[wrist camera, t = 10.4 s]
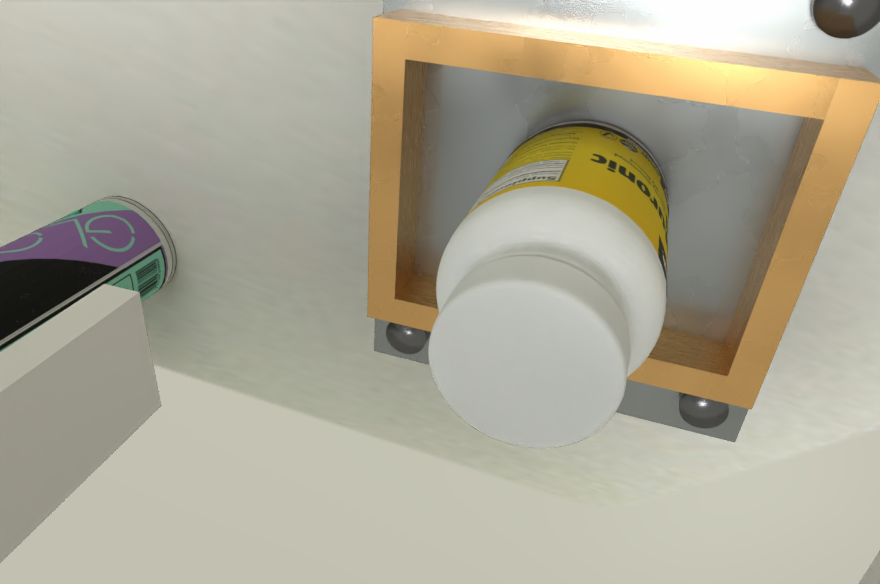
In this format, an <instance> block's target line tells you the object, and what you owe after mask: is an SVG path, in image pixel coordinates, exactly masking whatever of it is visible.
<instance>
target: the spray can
mask: <svg viewBox="0 0 880 584" xmlns="http://www.w3.org/2000/svg"><path fill="white" fill-rule="evenodd" d="M175 267H176V256H175V250H174V247H173V243H172V241H171V239H170V237H169V234H168V233H167V231H166V230H165V228H164V226H163V225H162V224H161V222H160V221H159V220H158V219H157V218H156V217H155V216H154V215H153V214H152V213H151V212H150V211H149V210H148V209H146V208H145V207H143V206H142V205H140V204H139V203H137V202H135V201H132V200H130V199H127V198H123V197H114V196H112V197H107V198H104V199H101V200H98V201H96V202H94V203H92V204H90V205H88V206H86V207H84V208H82V209H80V210H77V211H75V212H73V213H71V214H69V215H67V216H65V217H63V218H61V219H59V220H57V221H55V222H53V223H51V224H48V225H46V226H44V227H42V228H40V229H38V230H36V231H34V232H32V233H30V234H28V235H26V236H24V237H21V238H19V239H17V240H15V241H13V242H11V243H9V244H7V245H5V246H3V247H1V248H0V352H2V351H3V350H5V349H6V348H8V347H9V346H11V345H12V344H14V343H15V342H17V341H18V340H20V339H21V338H23V337H24V336H26V335H27V334H29V333H30V332H32V331H33V330H35V329H36V328H38V327H39V326H41V325H42V324H44V323H46V322H47V321H49V320H50V319H52V318H53V317H55V316H56V315H58V314H59V313H61V312H62V311H64V310H65V309H67V308H68V307H70V306H71V305H73V304H74V303H76V302H77V301H79V300H80V299H82V298H83V297H85V296H87V295H88V294H90V293H91V292H93V291H94V290H96V289H97V288H99V287H100V286H102V285H103V284H107V285H111V286H116V287H120V288H124V289H128V290H132V291H136V292H139V293H140V298H141V302H143V301H144V300H146V299H147V298H148V297H150V296H151V295H153V294H154V293H155V292H157V291H158V290H160V289H161V288H162V287H163V286H164V285H166V284H167V283H168V282H169V281H170V280H171V278H172V277H173V274H174V271H175Z"/></svg>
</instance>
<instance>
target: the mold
mask: <svg viewBox="0 0 880 584" xmlns="http://www.w3.org/2000/svg"><path fill="white" fill-rule="evenodd" d="M879 101H880V0H384V4H383V14H382V15H379V16H376V17H373V57H372V108H371V159H370V211H369V262H368V313H367V317H371V318H375V340H374V351H377V352H381V353H385V354H389V355H393V356H397V357H401V358H405V359H409V360H413V361H417V362H420V363H424V364H428V365H429V357H428V348H429V340H430V335H431V331H432V328H433V325H434V323H435V321H436V319H437V317H438V315H439V309H438V304H437V297H436V281H437V274H438V269H439V265H440V261H441V258H442V256H443V253H444V250H445V248H446V246H447V244H448V243H449V241H450V239H451V237H452V235H453V234H454V232H455V231H456V229H457V228H458V226H459V225H460V223H461V222H462V221H463V219H464V218H465V217H466V215H467V214H468V213H469V211H470V210H471V209H472V207H473V205H474V204H475V203H476V201H477V200H478V199H479V197H480V196H481V195H482V193H483V192H484V190H485V189H486V188H487V186H488V185H489V183H490V182H491V181H492V179H493V178H494V177H495V175H496V174H497V172H498V171H499V170H500V168H501V167H502V166H503V164H504V163H505V161H506V160H507V159H508V157H509V156H510V155H511V153H512V152H513V151H514V150H515V149H516V148H517V147H518V146H520V145H521V144H522V143H523V142H524V141H525V140H527V139H528V138H529V137H531V136H532V135H534V134H536V133H537V132H539V131H541V130H543V129H545V128H547V127H550V126H553V125H556V124H560V123H564V122H570V121H594V122H600V123H604V124H608V125H611V126H614V127H617V128H619V129H621V130H623V131H625V132H626V133H628V134H629V135H631V136H633V137H634V138H635V139H637V140H638V141H639V142H640V143H641V144H643V145H644V146H645V147H646V149H647V150H648V151H649V152H650V153H651V154H652V156H653V157H654V159H655V160H656V162H657V163H658V165H659V167H660V169H661V172H662V174H663V176H664V180H665V183H666V188H667V194H668V205H669V219H668V257H667V261H668V265H667V303H666V310H665V317H664V322H663V326H662V329H661V332H660V335H659V338H658V340H657V342H656V344H655V346H654V348H653V349H652V351H651V352H650V354H649V355H648V357H647V358H646V359H645V361H644V362H643V363H642V364H641V365H640V366H639V367H638V368H637V369H636V370H635V371H634V372H633V373H632V374H630V375H629V376H628V377H627V381H626V387H625V392H624V396H623V399H622V401H621V403H620V405H619V407H618V409H617V411H616V412H617V413H621V414H625V415H629V416H633V417H637V418H641V419H645V420H649V421H653V422H657V423H661V424H665V425H668V426H672V427H676V428H680V429H684V430H688V431H692V432H696V433H700V434H704V435H708V436H712V437H716V438H720V439H724V440H727V441H731V442H735V441H736V438H737V436H738V433H739V431H740V429H741V426H742V424H743V421H744V419H745V416H746V414H747V412H748V409H752V407H753V405H754V403H755V400H756V398H757V395H758V393H759V391H760V388H761V386H762V383H763V381H764V378H765V376H766V374H767V371H768V369H769V366H770V364H771V362H772V359H773V357H774V354H775V352H776V349H777V347H778V345H779V342H780V340H781V337H782V335H783V333H784V330H785V328H786V325H787V323H788V321H789V318H790V316H791V313H792V311H793V308H794V306H795V304H796V301H797V299H798V296H799V294H800V292H801V289H802V287H803V284H804V282H805V279H806V277H807V275H808V272H809V270H810V267H811V265H812V263H813V260H814V258H815V255H816V253H817V251H818V248H819V246H820V243H821V241H822V238H823V236H824V234H825V231H826V229H827V226H828V224H829V222H830V219H831V217H832V214H833V212H834V209H835V207H836V205H837V202H838V200H839V197H840V195H841V193H842V190H843V188H844V185H845V183H846V181H847V178H848V176H849V173H850V171H851V168H852V166H853V164H854V161H855V159H856V156H857V154H858V152H859V149H860V147H861V144H862V142H863V139H864V137H865V135H866V132H867V130H868V127H869V125H870V123H871V120H872V118H873V115H874V113H875V111H876V108H877V106H878V103H879Z"/></svg>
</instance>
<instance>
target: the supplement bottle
mask: <svg viewBox="0 0 880 584" xmlns="http://www.w3.org/2000/svg"><path fill="white" fill-rule="evenodd" d="M668 219H669V205H668V194H667V188H666V183H665V180H664V176H663V174H662V172H661V169H660V167H659V165H658V163H657V162H656V160H655V159H654V157H653V156H652V154H651V153H650V152H649V151H648V150H647V149H646V147H645V146H644V145H643V144H641V143H640V142H639V141H638V140H637V139H635V138H634V137H633V136H631V135H629V134H628V133H626V132H625V131H623V130H621V129H619V128H617V127H614V126H611V125H608V124H604V123H600V122H594V121H570V122H564V123H560V124H556V125H553V126H550V127H547V128H545V129H543V130H541V131H539V132H537V133H536V134H534V135H532V136H531V137H529V138H528V139H527V140H525V141H524V142H523V143H522V144H521V145H520V146H518V147H517V148H516V149H515V150H514V151H513V152H512V153H511V155H510V156H509V157H508V159H507V160H506V161H505V163H504V164H503V166H502V167H501V168H500V170H499V171H498V172H497V174H496V175H495V177H494V178H493V179H492V181H491V182H490V183H489V185H488V186H487V188H486V189H485V190H484V192H483V193H482V195H481V196H480V197H479V199H478V200H477V201H476V203H475V204H474V205H473V207H472V209H471V210H470V211H469V213H468V214H467V215H466V217H465V218H464V219H463V221H462V222H461V223H460V225H459V226H458V228H457V229H456V231H455V232H454V234H453V235H452V237H451V239H450V241H449V243H448V244H447V246H446V248H445V250H444V253H443V256H442V258H441V261H440V265H439V269H438V274H437V281H436V297H437V304H438V309H439V315H438V317H437V319H436V321H435V323H434V325H433V328H432V331H431V335H430V340H429V348H428V357H429V365H430V369H431V373H432V376H433V379H434V381H435V384H436V386H437V388H438V389H439V392H440V394H441V395H442V397H443V398H444V399H445V401H446V402H447V404H448V405H449V406H450V407H451V408H452V409H453V410H454V411H455V413H456V414H457V415H458V416H459V417H460V418H462V419H463V420H464V421H465V422H467V423H468V424H469V425H471V426H472V427H474V428H475V429H476V430H478V431H480V432H482V433H484V434H485V435H487V436H489V437H491V438H494V439H497V440H499V441H502V442H505V443H508V444H512V445H516V446H520V447H528V448H556V447H561V446H565V445H570V444H573V443H576V442H579V441H581V440H583V439H585V438H587V437H589V436H591V435H593V434H594V433H595V432H597V431H598V430H600V429H601V428H602V427H603V426H604V425H605V424H606V423H607V422H608V421H609V420H610V419H611V418H612V416H613V415H614V413H615V412H616V411H617V409H618V407H619V405H620V403H621V401H622V399H623V396H624V392H625V387H626V381H627V377H628V376H629V375H630V374H632V373H633V372H634V371H635V370H636V369H637V368H638V367H639V366H640V365H641V364H642V363H643V362H644V361H645V359H646V358H647V357H648V355H649V354H650V352H651V351H652V349H653V348H654V346H655V344H656V342H657V340H658V338H659V335H660V332H661V329H662V326H663V322H664V317H665V310H666V303H667V265H668V261H667V257H668Z"/></svg>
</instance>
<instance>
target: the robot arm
mask: <svg viewBox="0 0 880 584" xmlns="http://www.w3.org/2000/svg"><path fill="white" fill-rule="evenodd" d="M160 407H161V402H160V396H159V391H158V386H157V381H156V376H155V371H154V365H153V360H152V355H151V350H150V345H149V340H148V334H147V329H146V324H145V319H144V314H143V309H142V303H141V298H140V293H139V292H136V291H132V290H128V289H124V288H120V287H116V286H111V285H107V284H103V285H102V286H100V287H99V288H97V289H96V290H94V291H93V292H91V293H90V294H88V295H87V296H85V297H83V298H82V299H80V300H79V301H77V302H76V303H74V304H73V305H71V306H70V307H68V308H67V309H65V310H64V311H62V312H61V313H59V314H58V315H56V316H55V317H53V318H52V319H50V320H49V321H47V322H46V323H44V324H42V325H41V326H39V327H38V328H36V329H35V330H33V331H32V332H30V333H29V334H27V335H26V336H24V337H23V338H21V339H20V340H18V341H17V342H15V343H14V344H12V345H11V346H9V347H8V348H6V349H5V350H3V351H2V352H0V563H1V562H2V561H3V560H4V559H5V558H6V557H7V556H8V555H9V554H10V553H11V552H12V551H13V550H14V549H15V548H16V547H17V546H18V545H19V544H20V543H21V542H22V541H23V540H24V539H25V538H26V537H27V536H28V535H30V533H31V532H33V530H35V529H36V528H37V527H38V526H39V525H40V524H41V523H42V522H43V521H44V520H45V519H46V518H47V517H48V516H49V515H50V514H51V513H52V512H53V511H54V510H55V509H56V508H57V507H58V506H59V505H60V504H61V503H62V502H63V501H64V500H65V499H66V498H67V497H68V496H69V495H70V494H71V493H72V492H74V491H75V490H76V488H77V487H79V486H80V485H81V484H82V483H83V482H84V481H85V480H86V479H87V478H88V477H89V476H90V475H91V474H92V473H93V472H94V471H95V470H96V469H97V468H98V467H99V466H100V465H101V464H102V463H103V462H104V461H105V460H106V459H107V458H108V457H109V456H110V455H111V454H112V453H113V452H114V451H116V449H118V447H120V445H122V444H123V443H124V442H125V441H126V440H127V439H128V438H129V437H130V436H131V435H132V434H133V433H134V432H135V431H136V430H137V429H138V428H139V427H140V426H141V425H142V424H143V423H144V422H145V421H146V420H147V419H148V418H149V417H150V416H151V415H152V414H153V413H154V412H155V411H156V410H158V408H160ZM859 584H880V551H879V553H878V554H877V556H876V558H875V559H874V560H873V562H872V564H871V565H870V567H869V568H868V570H867V571H866V573H865V575H864V576H863V578H862V579H861V581H860V582H859Z"/></svg>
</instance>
